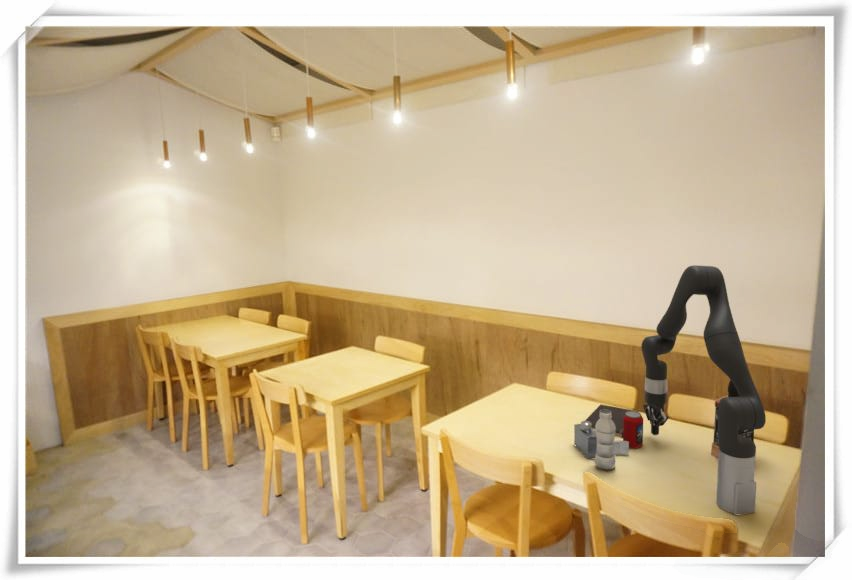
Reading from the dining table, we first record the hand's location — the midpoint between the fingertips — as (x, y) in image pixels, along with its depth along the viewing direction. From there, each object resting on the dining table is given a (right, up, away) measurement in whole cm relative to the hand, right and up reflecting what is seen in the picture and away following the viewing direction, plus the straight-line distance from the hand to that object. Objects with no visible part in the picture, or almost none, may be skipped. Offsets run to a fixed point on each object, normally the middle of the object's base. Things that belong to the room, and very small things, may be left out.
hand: (654, 434), depth 201 cm
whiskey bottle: (+21, -5, -13) cm, 25 cm away
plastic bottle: (-23, -7, -15) cm, 29 cm away
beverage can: (-8, -4, -1) cm, 9 cm away
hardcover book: (-10, -1, +19) cm, 21 cm away
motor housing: (-21, -5, -3) cm, 21 cm away
